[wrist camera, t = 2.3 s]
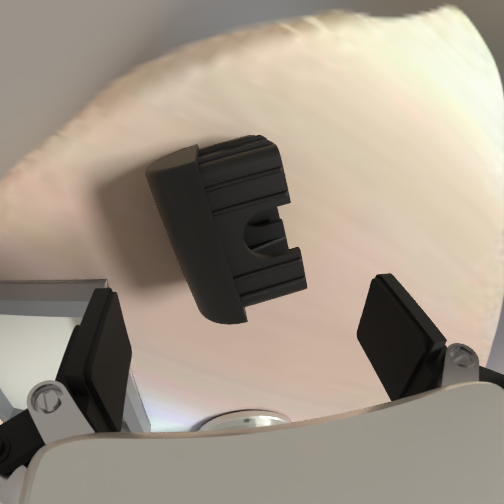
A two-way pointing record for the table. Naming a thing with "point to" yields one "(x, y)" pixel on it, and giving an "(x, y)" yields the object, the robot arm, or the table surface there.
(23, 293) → the tray
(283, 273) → the end cap
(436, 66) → the table surface
